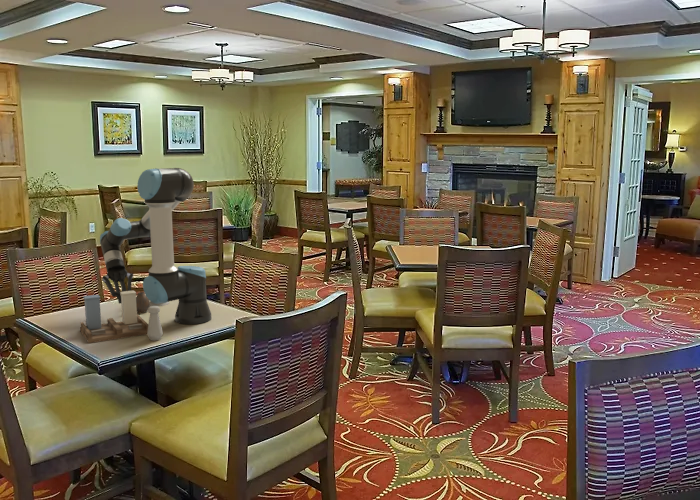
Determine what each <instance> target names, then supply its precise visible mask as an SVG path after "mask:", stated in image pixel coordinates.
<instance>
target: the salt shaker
mask: <svg viewBox="0 0 700 500" xmlns="http://www.w3.org/2000/svg"><path fill="white" fill-rule="evenodd" d="M160 311H161V309H160V306H150V307H149V308H148V311H147V312H148V313H149V317H148V324H149V325H148V331H147V334H146V335H147V337H148V339H149V340H150V341H152V342H154V341H159V340H161V339H162V337H163V335H164V334H163V332H164V331H163V328H162V323H161V319H160V314H159V313H160Z"/></svg>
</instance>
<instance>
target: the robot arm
mask: <svg viewBox="0 0 700 500" xmlns="http://www.w3.org/2000/svg"><path fill="white" fill-rule="evenodd" d="M194 184H195V182H194V178H193V177H192V175H191V174H190V172H188V171H187V170H185V169H184V168H180V167H173V168H172V167H168V168H162V167H161V168H156V167H155V168H150V169H145V170H144V171H142V172H141V173H140V175H139V177H138V180H137V192H138V194H139V196H140V198H141V199H143V200H144V204H145V205H147V207H148V211H146V213H145V214H144V215H143V216H142V218H141V219H139V220H134V221H129V220H128V219H127V218H123V217H119V218H117V219H115V220H114V221H113V222H112V224H111V225H110V228H109V230H105V231H104V232H103V233H101V234H100V236H99V243H100V247H101V252H102V255H103V261H104V264H105V269H106V275H103V276H102V282H103V283H104V284H105V285H106V287H107V290H109V293H110V294H111V296H112V297H115V298H116V299H117V302H118V304H119V305H120V304H121V294H120V292H124V291H132V279H133V277H134V273H132V272H131V273H130V272H128V270H126V266H125V262H124V258H123V254H122V249H121V245H122V244H123V243H124V241H125V240H133V239H138V238H147V237H148V238H149V237H150V250H151V267H150V268H149V269H148V275H149V276H146V277H145V278H144V279H143V281H142V288H143V292H144V294H145V295H146V296H147V298H148V299H149V301H151V302H153V303H155V304H159V303H166V302H169V303H170V302H174V301H177V300H178V303H177V307H176V311H175V315H174V321H175V322H176V323H178V324H183V325H199V324H205V323H207V322H210V320H212V311H211V308H210V307H209V304H208V299H207V298H208V297H207V273H206V269H205V268H203V267H200V266H196V265H179V266H176V265H175V254H174V235H173V234H174V230H173V211H174V210H175V209H176V208H177V206H179V204H181V203H182V202H185V201H186V200H187V199H188V198H189V197H190V196H191V195H192V193H193V190H194V189H195V188H194V187H195V185H194ZM126 278H127V279H128V280H127V287H126V283H125V279H126ZM111 281H112V282H113V284H112V282H111ZM119 284H120V285H119ZM113 285H114V286H113ZM120 288H121V289H120Z"/></svg>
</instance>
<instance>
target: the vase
mask: <svg viewBox="0 0 700 500" xmlns="http://www.w3.org/2000/svg"><path fill="white" fill-rule="evenodd" d="M137 293H138V294H136V307H137V314H138V313H139V314H143V313H147V312H148V308H149V307H150V300H149V299H148V298H147V296H146V295H145V292H144V291H140V292H137Z"/></svg>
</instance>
